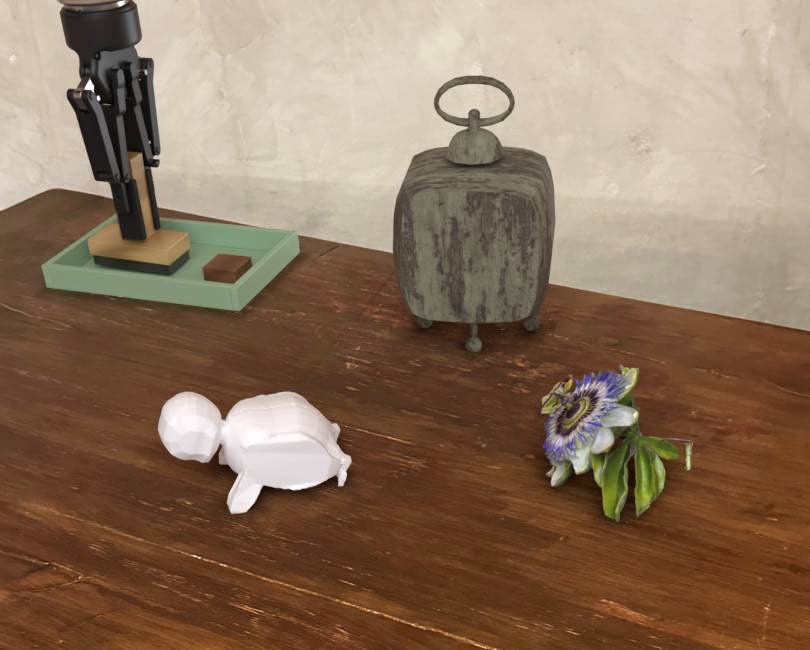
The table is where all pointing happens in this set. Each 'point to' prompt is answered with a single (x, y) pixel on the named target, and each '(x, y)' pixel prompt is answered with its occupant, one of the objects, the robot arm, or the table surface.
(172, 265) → the brush
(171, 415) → the white turtle figurine
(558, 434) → the passion flower
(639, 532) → the table surface
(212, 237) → the tray
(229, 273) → the wood chip
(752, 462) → the table surface
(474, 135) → the tabletop clock
